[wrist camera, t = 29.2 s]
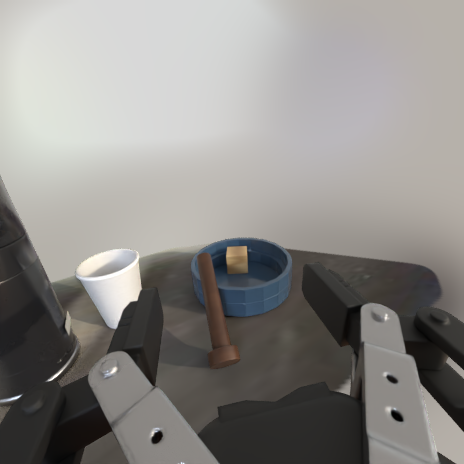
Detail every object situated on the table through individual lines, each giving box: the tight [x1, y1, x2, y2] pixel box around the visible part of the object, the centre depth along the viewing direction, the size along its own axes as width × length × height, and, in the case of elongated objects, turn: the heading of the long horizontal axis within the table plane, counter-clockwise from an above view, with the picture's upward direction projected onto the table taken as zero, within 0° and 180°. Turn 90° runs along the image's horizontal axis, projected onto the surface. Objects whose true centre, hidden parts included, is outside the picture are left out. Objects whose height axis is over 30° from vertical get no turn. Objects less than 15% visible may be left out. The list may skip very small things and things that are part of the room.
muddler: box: [196, 253, 240, 369], centre depth 30 cm, size 4×4×15 cm
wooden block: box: [226, 246, 248, 274], centre depth 45 cm, size 4×4×4 cm
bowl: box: [191, 238, 292, 317], centre depth 41 cm, size 17×17×6 cm
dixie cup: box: [75, 249, 142, 329], centre depth 34 cm, size 8×8×10 cm
